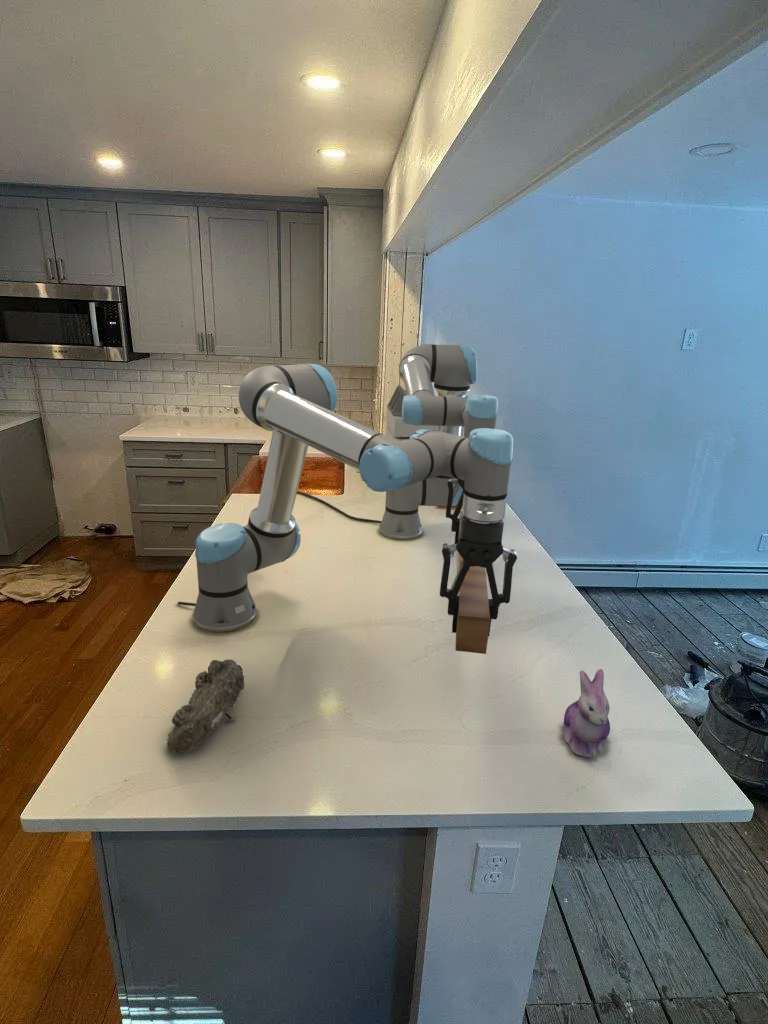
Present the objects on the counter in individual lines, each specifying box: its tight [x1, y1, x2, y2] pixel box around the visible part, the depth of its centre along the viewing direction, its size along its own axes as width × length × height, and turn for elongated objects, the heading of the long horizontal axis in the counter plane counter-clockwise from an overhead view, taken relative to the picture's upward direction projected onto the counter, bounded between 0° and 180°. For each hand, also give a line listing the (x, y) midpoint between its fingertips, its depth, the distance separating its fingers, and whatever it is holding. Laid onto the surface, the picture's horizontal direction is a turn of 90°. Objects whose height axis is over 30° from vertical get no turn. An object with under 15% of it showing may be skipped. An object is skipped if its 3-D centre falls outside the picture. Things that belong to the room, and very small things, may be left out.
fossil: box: [166, 658, 245, 754], centre depth 106 cm, size 22×10×15 cm
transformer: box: [385, 384, 464, 441], centre depth 268 cm, size 34×33×41 cm
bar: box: [454, 510, 491, 655], centre depth 128 cm, size 56×6×7 cm, turn 173°
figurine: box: [562, 668, 611, 758], centre depth 104 cm, size 9×10×15 cm
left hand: (470, 630), depth 108 cm, fingers closed on bar, 5 cm apart
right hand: (467, 543), depth 149 cm, fingers closed on bar, 5 cm apart
